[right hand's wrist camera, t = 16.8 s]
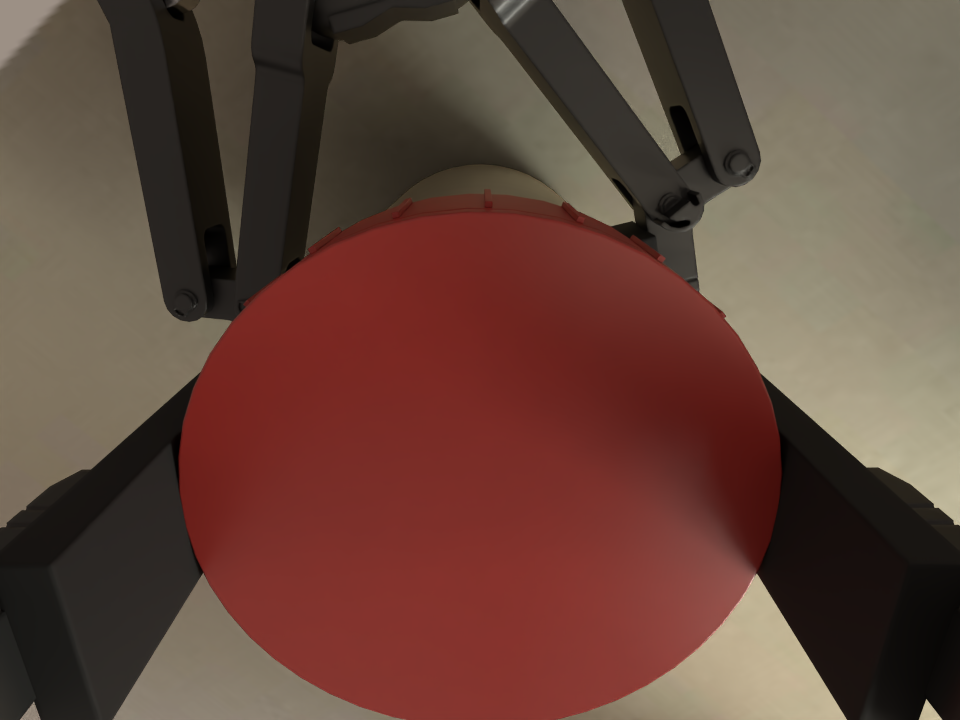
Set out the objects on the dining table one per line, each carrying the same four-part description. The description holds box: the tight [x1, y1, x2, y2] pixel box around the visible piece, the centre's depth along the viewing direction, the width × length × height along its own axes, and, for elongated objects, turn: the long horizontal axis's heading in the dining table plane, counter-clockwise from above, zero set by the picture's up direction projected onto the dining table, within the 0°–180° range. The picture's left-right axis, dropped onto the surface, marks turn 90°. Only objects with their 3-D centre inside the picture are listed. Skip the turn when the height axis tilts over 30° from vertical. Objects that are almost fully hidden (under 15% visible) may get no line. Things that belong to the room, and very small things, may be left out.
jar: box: [387, 164, 565, 210], centre depth 18 cm, size 9×9×16 cm
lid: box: [178, 189, 782, 720], centre depth 11 cm, size 10×10×2 cm
